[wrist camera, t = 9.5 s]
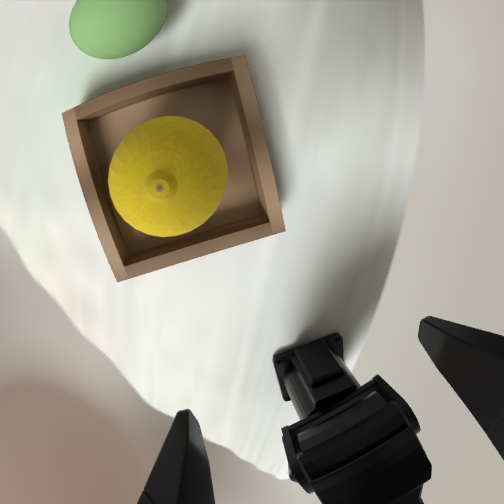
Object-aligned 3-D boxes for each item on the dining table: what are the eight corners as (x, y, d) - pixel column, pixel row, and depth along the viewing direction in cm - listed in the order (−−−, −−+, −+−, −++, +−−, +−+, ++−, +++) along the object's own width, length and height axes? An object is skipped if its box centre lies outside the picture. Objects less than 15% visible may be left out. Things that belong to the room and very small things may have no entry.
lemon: (235, 180, 18) (268, 213, 10) (160, 226, 18) (141, 290, 10) (191, 103, 15) (190, 76, 8) (113, 154, 15) (57, 170, 8)
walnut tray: (273, 220, 20) (285, 230, 17) (124, 266, 18) (117, 282, 16) (237, 66, 15) (245, 55, 13) (76, 116, 14) (61, 113, 12)
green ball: (176, 53, 14) (173, 18, 9) (91, 81, 14) (58, 60, 9) (161, -11, 12) (157, -56, 7) (82, 16, 11) (53, -18, 6)
